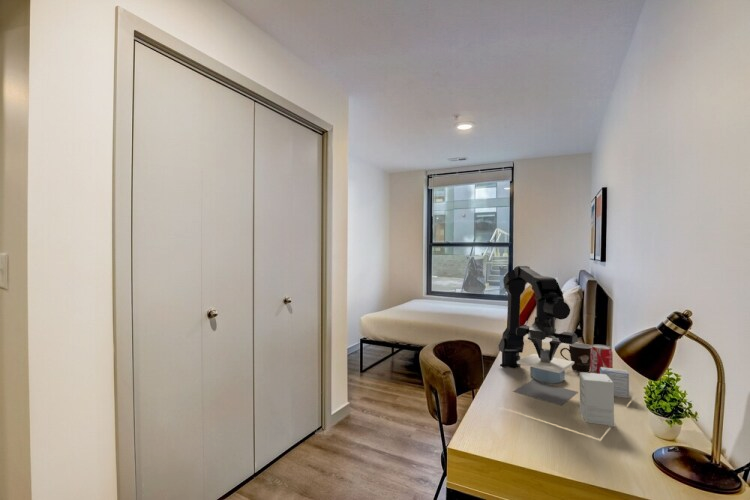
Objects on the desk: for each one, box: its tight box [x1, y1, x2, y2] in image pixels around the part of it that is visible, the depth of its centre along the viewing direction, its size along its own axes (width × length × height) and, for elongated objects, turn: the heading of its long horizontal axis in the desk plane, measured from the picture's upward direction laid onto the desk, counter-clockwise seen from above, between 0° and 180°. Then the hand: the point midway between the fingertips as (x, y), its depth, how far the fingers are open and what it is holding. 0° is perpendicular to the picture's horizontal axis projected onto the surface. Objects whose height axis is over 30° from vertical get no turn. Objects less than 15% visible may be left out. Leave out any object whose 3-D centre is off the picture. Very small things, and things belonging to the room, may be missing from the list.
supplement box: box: [579, 372, 615, 428], centre depth 105 cm, size 7×7×13 cm
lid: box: [517, 348, 574, 373], centre depth 125 cm, size 14×14×5 cm
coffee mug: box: [559, 342, 592, 373], centre depth 151 cm, size 12×9×10 cm
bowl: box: [529, 366, 566, 384], centre depth 139 cm, size 11×11×6 cm
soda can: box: [589, 343, 614, 374], centre depth 138 cm, size 7×7×13 cm
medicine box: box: [600, 367, 630, 399], centre depth 124 cm, size 8×4×9 cm, turn 65°
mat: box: [512, 379, 579, 407], centre depth 125 cm, size 16×16×1 cm
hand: (545, 359), depth 125 cm, fingers closed on lid, 3 cm apart
